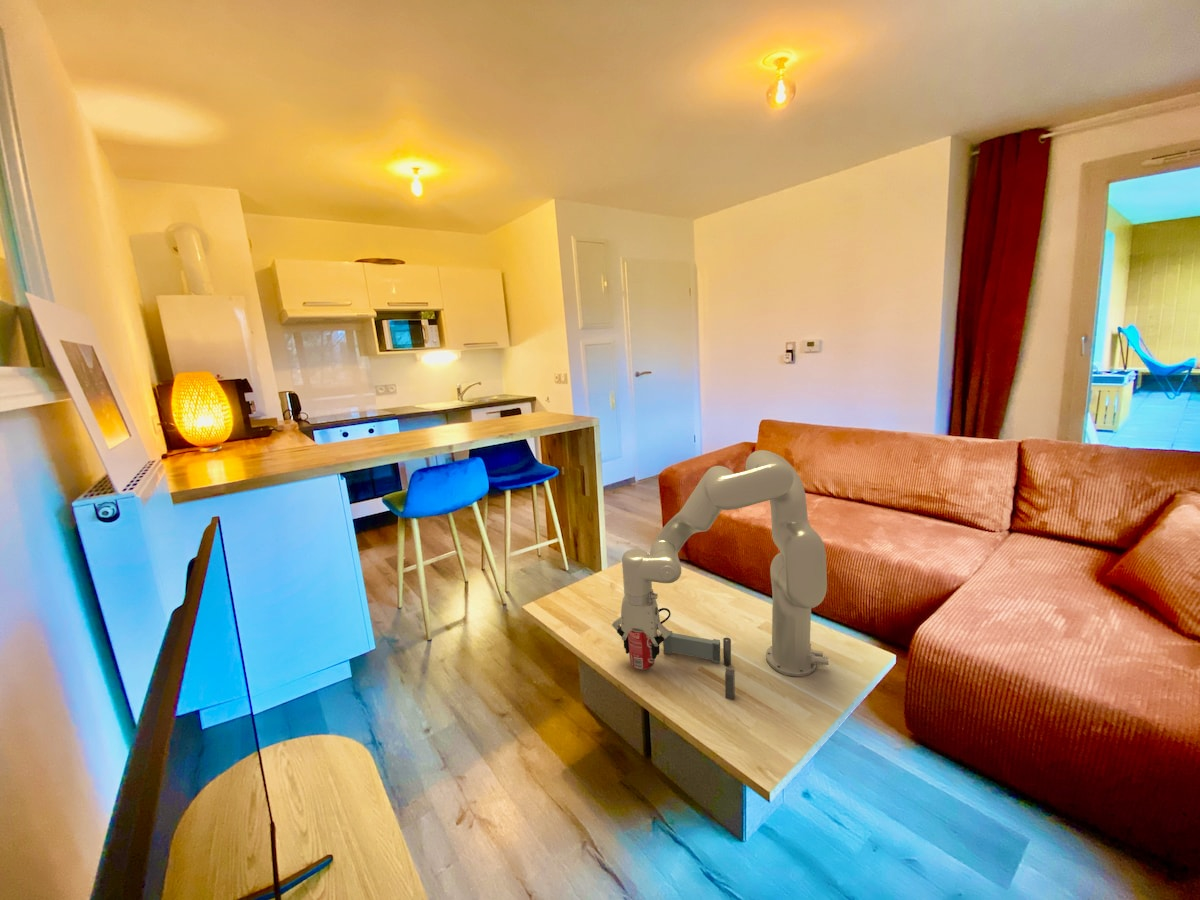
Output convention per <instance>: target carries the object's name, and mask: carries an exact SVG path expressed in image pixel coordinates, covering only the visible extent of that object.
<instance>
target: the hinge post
mask: <svg viewBox="0 0 1200 900" xmlns="http://www.w3.org/2000/svg"><path fill="white" fill-rule="evenodd" d="M722 643H723V645H722V647H723V648H722V649H723V650H722V651H723V665H724V666H725V667H730V666H731V665H732V640H731V638H730V637H727V636H726V637H723V639H722Z"/></svg>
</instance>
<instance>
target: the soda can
mask: <svg viewBox="0 0 1200 900" xmlns="http://www.w3.org/2000/svg"><path fill="white" fill-rule="evenodd" d="M631 630H632V631H630V632H629V634H628V643H629V653H628V655H629V661H630V664H631V666H632V667H633V668H635V669H637V670H647V669H650V668H652V667H653V666H654V664H655V660H656V659H653V658H652V645H653V643H652V641H651V638H650V637H648V636H647V635H646V634H645V633H644V631H636V630H633V629H631Z"/></svg>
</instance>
